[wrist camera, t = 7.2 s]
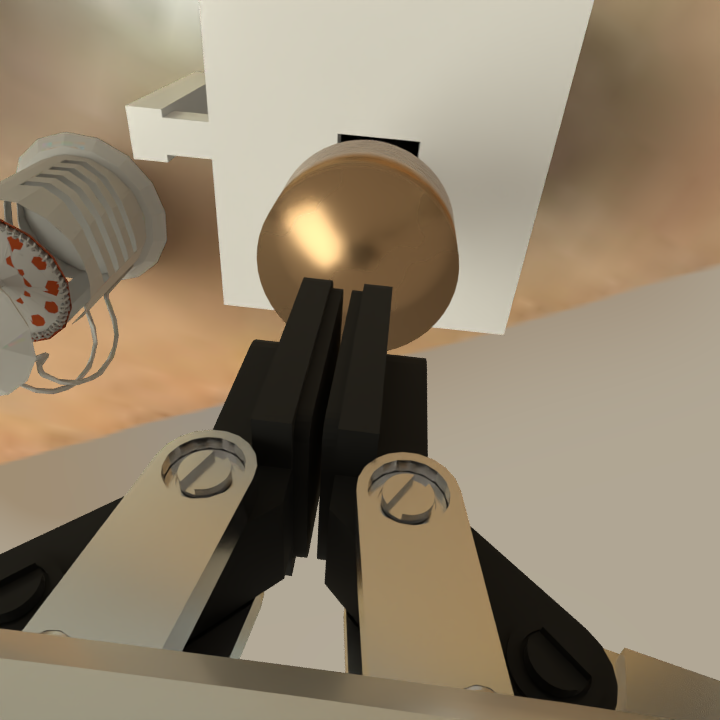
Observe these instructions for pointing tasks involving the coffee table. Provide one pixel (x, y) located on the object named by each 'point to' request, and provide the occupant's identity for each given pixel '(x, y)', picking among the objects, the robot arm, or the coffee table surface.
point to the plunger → (364, 233)
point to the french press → (69, 246)
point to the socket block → (377, 117)
